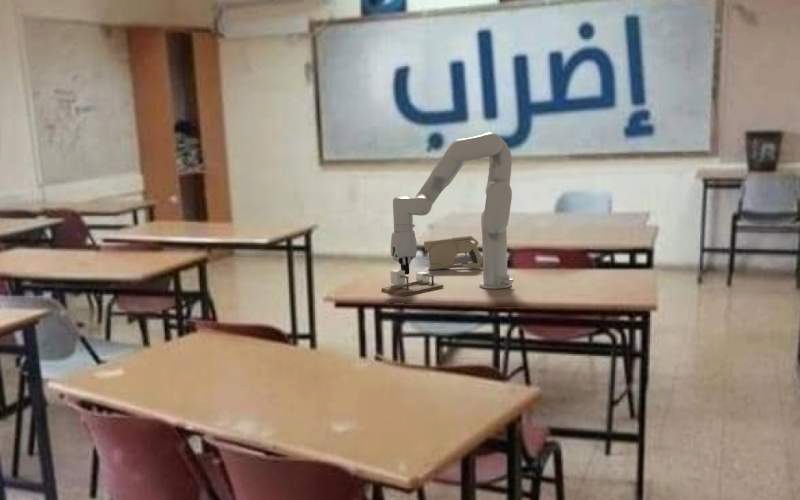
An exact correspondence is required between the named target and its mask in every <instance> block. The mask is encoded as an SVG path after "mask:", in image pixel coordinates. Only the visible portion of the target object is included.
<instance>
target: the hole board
mask: <svg viewBox="0 0 800 500" xmlns="http://www.w3.org/2000/svg"><path fill="white" fill-rule="evenodd" d="M443 288H444V284H441V283H437V282H434V284H432V281H430V282H428V283H424V284H422V283H420V284H415V285H410V286H409V289H407V286H406V287H401V288H396V289H391V290H390V289H388V286H386V287H382V288H381V292H383V293H387V294H392V295H395V296H400V297H408V296H413V295H418V294H422V293H426V292H431V291H436V290H441V289H443Z"/></svg>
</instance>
